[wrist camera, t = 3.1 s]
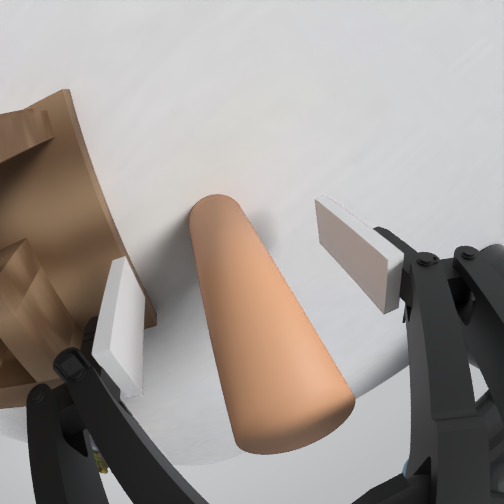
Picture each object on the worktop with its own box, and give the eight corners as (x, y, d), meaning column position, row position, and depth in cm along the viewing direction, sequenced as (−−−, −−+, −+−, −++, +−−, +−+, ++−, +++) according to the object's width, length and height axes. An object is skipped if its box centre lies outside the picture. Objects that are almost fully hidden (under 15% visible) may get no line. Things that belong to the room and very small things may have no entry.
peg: (248, 236, 20) (352, 427, 8) (197, 252, 20) (250, 464, 8) (236, 187, 19) (358, 368, 7) (181, 204, 18) (218, 418, 6)
